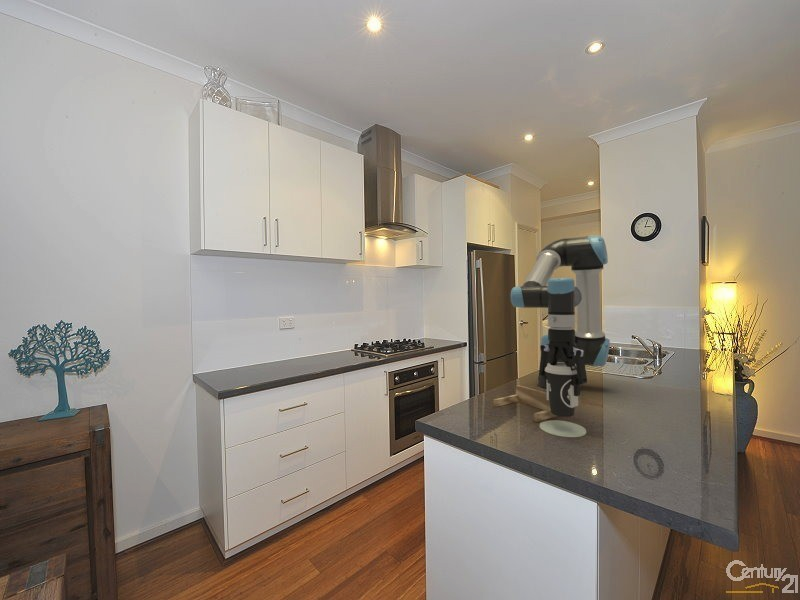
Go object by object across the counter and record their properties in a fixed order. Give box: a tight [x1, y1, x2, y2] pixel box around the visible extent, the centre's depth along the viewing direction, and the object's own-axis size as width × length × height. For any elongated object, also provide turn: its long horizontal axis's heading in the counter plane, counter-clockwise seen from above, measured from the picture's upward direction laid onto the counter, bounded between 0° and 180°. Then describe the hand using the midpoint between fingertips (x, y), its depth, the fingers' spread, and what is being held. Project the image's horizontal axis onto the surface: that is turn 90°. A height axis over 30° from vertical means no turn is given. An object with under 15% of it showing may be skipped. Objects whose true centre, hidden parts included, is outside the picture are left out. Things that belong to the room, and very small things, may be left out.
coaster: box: [539, 419, 587, 438], centre depth 107 cm, size 13×13×1 cm
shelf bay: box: [492, 384, 558, 423], centre depth 124 cm, size 14×19×6 cm
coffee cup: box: [545, 362, 577, 418], centre depth 106 cm, size 10×10×15 cm
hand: (562, 402), depth 106 cm, fingers closed on coffee cup, 7 cm apart
